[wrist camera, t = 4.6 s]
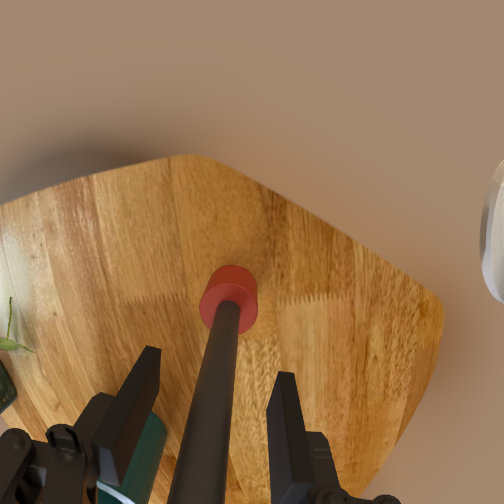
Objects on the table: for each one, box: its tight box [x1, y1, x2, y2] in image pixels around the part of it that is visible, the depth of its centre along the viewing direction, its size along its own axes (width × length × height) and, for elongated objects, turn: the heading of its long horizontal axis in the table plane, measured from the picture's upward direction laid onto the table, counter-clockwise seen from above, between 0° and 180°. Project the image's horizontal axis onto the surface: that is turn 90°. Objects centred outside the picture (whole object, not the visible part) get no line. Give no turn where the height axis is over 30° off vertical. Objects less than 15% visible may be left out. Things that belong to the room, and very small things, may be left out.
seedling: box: [0, 297, 35, 353], centre depth 27 cm, size 7×8×7 cm
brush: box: [167, 265, 258, 504], centre depth 15 cm, size 4×4×24 cm
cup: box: [97, 396, 167, 504], centre depth 25 cm, size 10×10×13 cm
